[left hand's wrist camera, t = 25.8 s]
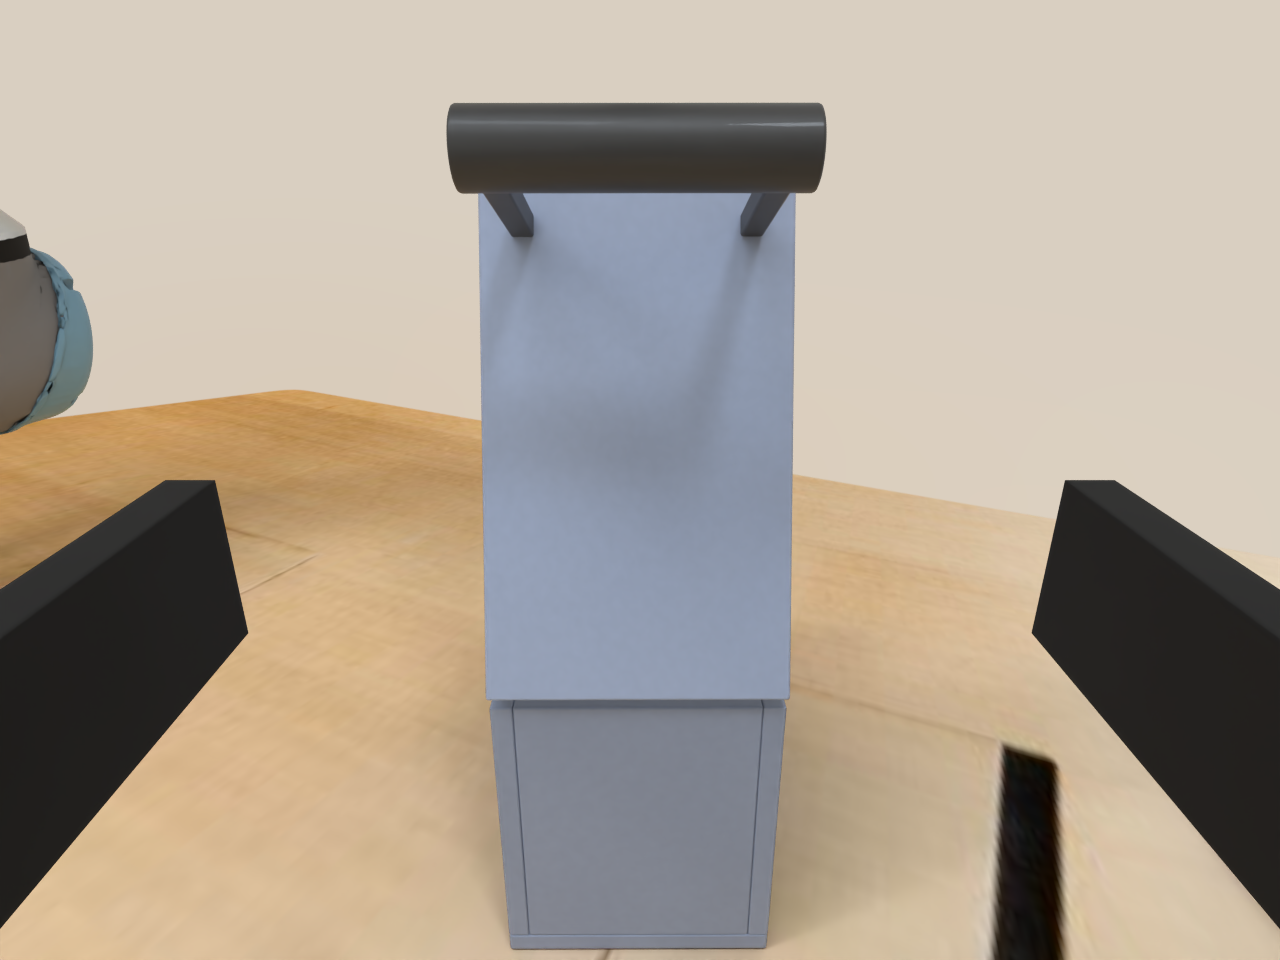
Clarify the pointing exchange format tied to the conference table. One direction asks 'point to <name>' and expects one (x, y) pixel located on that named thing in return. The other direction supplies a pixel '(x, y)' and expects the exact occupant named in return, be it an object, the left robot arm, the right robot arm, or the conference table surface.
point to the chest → (638, 821)
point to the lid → (637, 392)
